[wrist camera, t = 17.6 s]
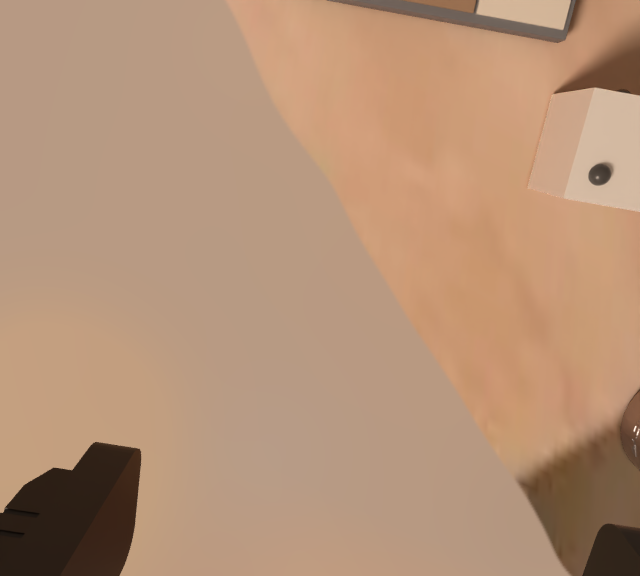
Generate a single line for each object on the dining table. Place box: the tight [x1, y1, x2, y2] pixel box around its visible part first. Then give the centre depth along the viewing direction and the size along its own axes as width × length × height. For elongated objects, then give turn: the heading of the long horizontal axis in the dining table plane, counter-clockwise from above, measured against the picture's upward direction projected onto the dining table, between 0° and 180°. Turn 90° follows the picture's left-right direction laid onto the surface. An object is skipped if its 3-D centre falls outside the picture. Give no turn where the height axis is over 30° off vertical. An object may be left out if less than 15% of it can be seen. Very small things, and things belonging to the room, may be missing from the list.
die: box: [527, 87, 640, 212], centre depth 34 cm, size 6×7×7 cm
